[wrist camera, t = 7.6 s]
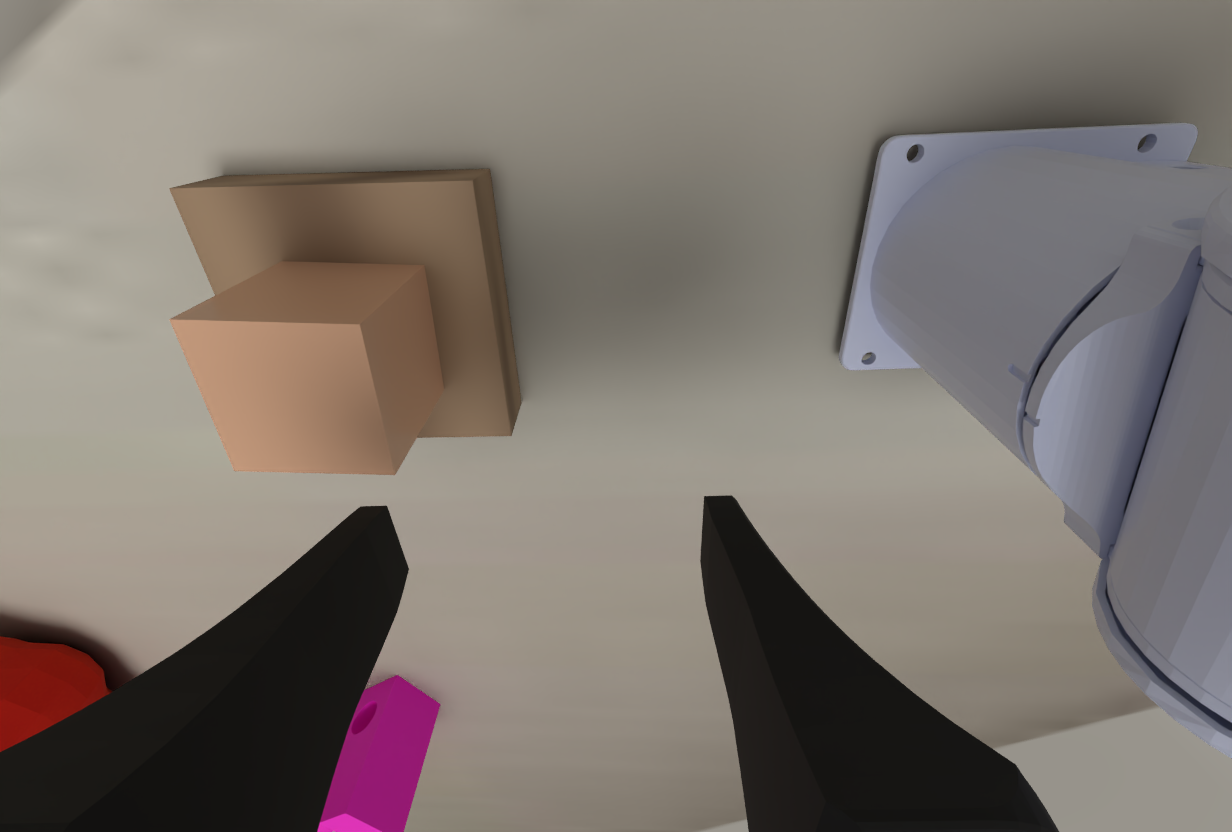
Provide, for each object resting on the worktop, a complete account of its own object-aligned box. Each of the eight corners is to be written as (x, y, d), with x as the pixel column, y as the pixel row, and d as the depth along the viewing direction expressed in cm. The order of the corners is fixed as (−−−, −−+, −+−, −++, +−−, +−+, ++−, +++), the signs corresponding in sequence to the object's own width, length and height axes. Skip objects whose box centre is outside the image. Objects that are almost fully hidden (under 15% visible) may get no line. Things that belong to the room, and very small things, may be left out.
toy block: (316, 781, 40) (259, 913, 34) (244, 743, 37) (167, 879, 31) (467, 719, 36) (434, 858, 29) (398, 672, 33) (345, 813, 27)
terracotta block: (424, 264, 17) (359, 324, 13) (444, 389, 19) (395, 474, 15) (281, 261, 17) (169, 319, 13) (319, 386, 19) (234, 471, 15)
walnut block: (493, 166, 18) (472, 180, 16) (523, 396, 23) (511, 435, 21) (231, 173, 18) (169, 188, 16) (314, 400, 23) (277, 440, 21)
